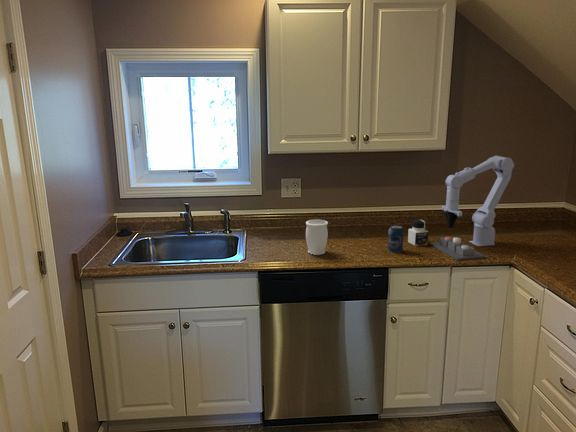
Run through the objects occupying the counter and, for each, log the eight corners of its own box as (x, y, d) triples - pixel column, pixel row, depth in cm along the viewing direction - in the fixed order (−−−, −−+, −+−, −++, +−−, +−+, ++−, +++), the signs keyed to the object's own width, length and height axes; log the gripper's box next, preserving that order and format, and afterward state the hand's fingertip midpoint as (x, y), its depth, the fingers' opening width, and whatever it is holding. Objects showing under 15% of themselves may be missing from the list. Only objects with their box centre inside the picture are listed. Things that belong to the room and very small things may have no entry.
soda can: (387, 252, 212) (389, 228, 209) (387, 248, 219) (388, 224, 216) (403, 253, 211) (404, 229, 208) (401, 249, 217) (403, 225, 214)
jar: (305, 248, 219) (305, 219, 215) (326, 248, 219) (327, 219, 215) (305, 256, 209) (305, 225, 205) (328, 256, 209) (328, 225, 205)
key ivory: (457, 243, 215) (458, 237, 214) (462, 245, 212) (462, 239, 211) (450, 243, 214) (451, 237, 214) (455, 245, 211) (455, 239, 210)
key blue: (466, 251, 209) (466, 244, 208) (470, 253, 205) (471, 247, 205) (459, 251, 208) (459, 245, 207) (463, 254, 205) (464, 247, 204)
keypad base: (454, 242, 227) (455, 234, 226) (484, 257, 204) (485, 249, 203) (429, 244, 224) (430, 236, 223) (457, 260, 201) (457, 251, 200)
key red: (449, 242, 222) (449, 236, 221) (453, 244, 219) (454, 238, 218) (442, 242, 221) (443, 236, 221) (446, 244, 218) (447, 239, 217)
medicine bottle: (415, 246, 221) (416, 222, 218) (407, 242, 228) (408, 219, 225) (427, 244, 223) (429, 221, 220) (420, 240, 230) (421, 218, 227)
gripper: (437, 197, 222) (435, 224, 225) (453, 203, 208) (451, 231, 211) (449, 196, 223) (447, 223, 226) (467, 202, 209) (464, 230, 213)
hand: (450, 227), depth 219 cm, fingers closed
